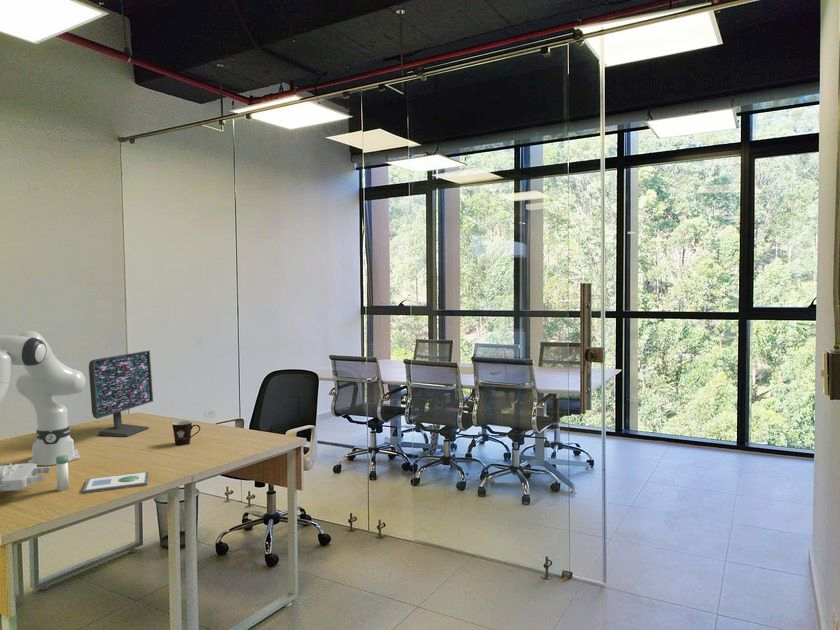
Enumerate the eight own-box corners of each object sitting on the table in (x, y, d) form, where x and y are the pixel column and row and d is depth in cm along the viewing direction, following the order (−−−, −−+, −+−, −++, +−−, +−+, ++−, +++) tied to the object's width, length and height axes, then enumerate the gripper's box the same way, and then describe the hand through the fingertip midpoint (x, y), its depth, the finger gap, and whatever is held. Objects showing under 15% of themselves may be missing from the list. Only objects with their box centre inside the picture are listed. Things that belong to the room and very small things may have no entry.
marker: (57, 488, 211) (56, 456, 210) (69, 486, 212) (68, 454, 212) (56, 491, 207) (54, 458, 207) (68, 490, 209) (67, 457, 208)
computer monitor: (109, 444, 272) (106, 360, 271) (78, 442, 275) (75, 359, 273) (163, 423, 315) (162, 350, 314) (137, 422, 318) (134, 350, 316)
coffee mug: (168, 445, 269) (168, 424, 268) (181, 440, 277) (180, 420, 277) (189, 447, 266) (189, 425, 265) (201, 442, 274) (201, 421, 274)
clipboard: (87, 480, 219) (87, 478, 219) (148, 473, 227) (148, 471, 227) (82, 493, 205) (82, 490, 205) (147, 485, 213) (147, 482, 213)
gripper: (-9, 478, 192) (40, 473, 198) (7, 462, 211) (51, 457, 217) (-8, 497, 193) (41, 491, 198) (8, 479, 211) (52, 474, 217)
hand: (46, 473), depth 208 cm, fingers open, 8 cm apart
